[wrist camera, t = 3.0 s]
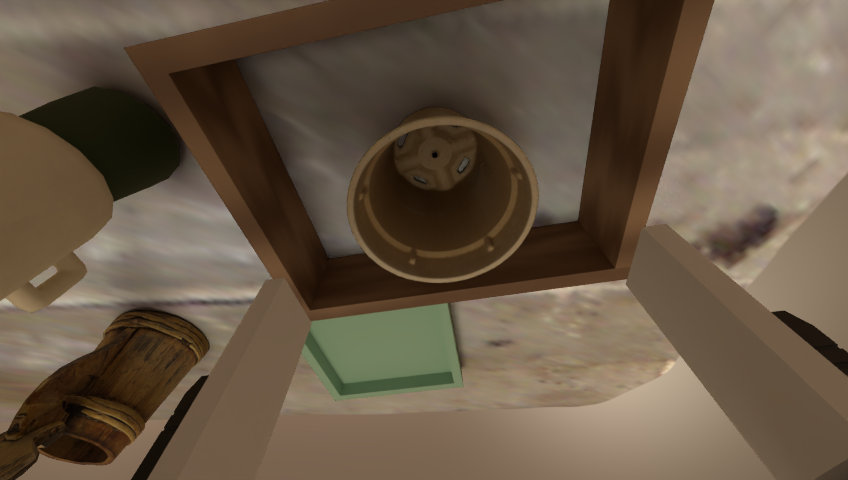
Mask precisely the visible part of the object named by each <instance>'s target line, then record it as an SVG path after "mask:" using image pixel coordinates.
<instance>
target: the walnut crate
mask: <svg viewBox="0 0 848 480" xmlns="http://www.w3.org/2000/svg"><path fill="white" fill-rule="evenodd" d="M497 1H501V0H329V1H324V2H320V3H316V4H312V5H307V6H303V7H299V8H294V9H290V10H286V11H281V12H277V13H273V14H268V15H264V16H260V17H255V18H251V19H247V20H242V21H238V22H234V23H229V24H225V25H221V26H216V27H212V28H208V29H203V30H199V31H195V32H190V33H186V34H182V35H177V36H173V37H169V38H164V39H160V40H156V41H151V42H147V43H143V44H138V45H134V46H130V47H125V48H124V49H125V51H126V52H127V54H128V55H129V57H130V58H131V60H132V62H133V63H134V65H135V66H136V68H137V69H138V71H139V72H140V74H141V75H142V77H143V79H144V80H145V82H146V83H147V85H148V86H149V88H150V89H151V91H152V92H153V94H154V96H155V97H156V99H157V100H158V102H159V103H160V105H161V106H162V108H163V109H164V111H165V113H166V114H167V116H168V117H169V119H170V120H171V122H172V123H173V125H174V127H175V128H176V130H177V131H178V133H179V134H180V136H181V137H182V139H183V140H184V142H185V144H186V145H187V147H188V148H189V150H190V151H191V153H192V154H193V156H194V157H195V159H196V161H197V162H198V164H199V165H200V167H201V168H202V170H203V171H204V173H205V174H206V176H207V178H208V179H209V181H210V182H211V184H212V185H213V187H214V188H215V190H216V192H217V193H218V195H219V196H220V198H221V199H222V201H223V202H224V204H225V205H226V207H227V209H228V210H229V212H230V213H231V215H232V216H233V218H234V219H235V221H236V222H237V224H238V226H239V227H240V229H241V230H242V232H243V233H244V235H245V236H246V238H247V239H248V241H249V243H250V244H251V246H252V247H253V249H254V250H255V252H256V253H257V255H258V256H259V258H260V260H261V261H262V263H263V264H264V266H265V267H266V269H267V270H268V272H269V274H270V275H271V277H272V278H273V279H279V278H285V280H286V281H287V283H288V284H289V286H290V288H291V289H292V291H293V293H294V294H295V296H296V298H297V299H298V301H299V303H300V304H301V306H302V308H303V309H304V311H305V313H306V314H307V316H308V318H309V319H310V321H317V320H325V319H332V318H340V317H347V316H355V315H362V314H370V313H377V312H385V311H392V310H399V309H407V308H414V307H422V306H429V305H437V304H444V303H452V302H459V301H467V300H474V299H482V298H489V297H497V296H504V295H512V294H519V293H526V292H534V291H541V290H549V289H556V288H564V287H571V286H579V285H586V284H594V283H601V282H609V281H616V280H624V279H627V278H628V275H629V271H630V268H631V264H632V261H633V257H634V254H635V251H636V247H637V244H638V240H639V237H640V233H641V230H642V227H645V226H646V223H647V220H648V216H649V213H650V210H651V207H652V203H653V200H654V197H655V194H656V190H657V187H658V184H659V180H660V177H661V174H662V171H663V167H664V164H665V161H666V157H667V154H668V151H669V148H670V144H671V141H672V138H673V134H674V131H675V128H676V125H677V121H678V118H679V115H680V111H681V108H682V105H683V102H684V98H685V95H686V92H687V88H688V85H689V82H690V79H691V75H692V72H693V69H694V65H695V62H696V59H697V56H698V52H699V49H700V46H701V43H702V39H703V36H704V33H705V29H706V26H707V23H708V20H709V16H710V13H711V10H712V6H713V3H714V0H610V4H609V11H608V18H607V25H606V32H605V39H604V46H603V53H602V59H601V66H600V73H599V80H598V87H597V94H596V101H595V108H594V115H593V121H592V128H591V135H590V142H589V149H588V156H587V163H586V170H585V177H584V184H583V190H582V197H581V204H580V211H579V218H578V221H576V222H569V223H563V224H556V225H549V226H543V227H536V228H531V229H530V231H529V233H528V235H527V236H526V238H525V239H524V241H523V242H522V244H521V245H520V246H519V248H518V249H517V250H516V251H515V252H514V253H513V254H512V255H511V256H509V257H508V258H507V259H506V260H504V261H503V262H502V263H501V264H500V265H498V266H496V267H495V268H493V269H490V270H489V271H487V272H485V273H482V274H480V275H477V276H475V277H472V278H469V279H466V280H460V281H454V282H448V283H445V282H443V283H430V282H420V281H414V280H412V279H411V280H410V279H406V278H403V277H401V276H397V275H396V274H394V273H391V272H390V271H388V270H385V269H384V268H382V267H381V266H380V265H378V264H377V263H376V262H374V261H373V260H372V259H371V258H370V257H369V256H368V255H367V254H366V253H365V254H359V255H352V256H346V257H339V258H332V259H328V257H327V255H326V253H325V250H324V248H323V246H322V244H321V242H320V240H319V238H318V236H317V234H316V231H315V229H314V227H313V225H312V223H311V221H310V219H309V217H308V215H307V212H306V210H305V208H304V206H303V204H302V202H301V200H300V198H299V196H298V193H297V191H296V189H295V187H294V185H293V183H292V181H291V179H290V176H289V174H288V172H287V170H286V168H285V166H284V164H283V162H282V160H281V157H280V155H279V153H278V151H277V149H276V147H275V145H274V143H273V141H272V138H271V136H270V134H269V132H268V130H267V128H266V126H265V124H264V122H263V119H262V117H261V115H260V113H259V111H258V109H257V107H256V105H255V102H254V100H253V98H252V96H251V94H250V92H249V90H248V88H247V86H246V83H245V81H244V79H243V77H242V75H241V73H240V71H239V69H238V67H237V64H236V62H235V60H234V59H237V58H242V57H246V56H251V55H255V54H260V53H265V52H269V51H274V50H278V49H283V48H287V47H292V46H296V45H301V44H306V43H310V42H315V41H319V40H324V39H328V38H333V37H337V36H342V35H347V34H351V33H356V32H360V31H365V30H369V29H374V28H378V27H383V26H388V25H392V24H397V23H401V22H406V21H410V20H415V19H419V18H424V17H429V16H433V15H438V14H442V13H447V12H451V11H456V10H460V9H465V8H470V7H474V6H479V5H483V4H488V3H492V2H497Z"/></svg>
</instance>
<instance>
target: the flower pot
mask: <svg viewBox="0 0 848 480" xmlns="http://www.w3.org/2000/svg"><path fill="white" fill-rule="evenodd" d="M452 125H455V126H459V127H453V126H452ZM406 133H408V134H407V137H406V139H405V141H404V144H403V147H399V146H398V139H399V137H401V136H402V135H404V134H406ZM433 152H437V154H438V156H437V157H433V156H432V153H433ZM463 158H467V159H469V163H468V165H467V166H466V167H465V168H464V170H463V171H462V172H461V173H459V172H458V171H457V170H458V168H459V166H460V165H461V163H462V161H463ZM414 176H417V177H420V178H421V177H423V179H424V180H426V181H427V184H425V183H422V182H419V181H417V180H416V179H415V178H414ZM538 197H539V191H538V183H537V179H536V175H535V172H534V169H533V167H532V165H531V163H530V161H529V160H528V158H527V156H526V155H525V153H524V152H523V151H522V149H521V148H520V147H519V146H518V145H517V144H516V143H515V142H514V141H513V140H511V139H510V138H509V137H508V136H506V135H505V134H504V133H502V132H501V131H499V130H498V129H496V128H494V127H492V126H490V125H488V124H485V123H482V122H479V121H476V120H473V119H469V118H464V117H463V116H462V115H460V114H459V113H457V112H455V111H453V110H450V109H447V108H441V107H431V108H426V109H422V110H419V111H417V112H415V113H413V114H411V115H410V116H408V117H407V118H406V119H405V120H404V121H403V122H402V123H401V124H400V125H399V127H398V128H396V129H394V130H392V131H391V132H389V133H388V134H386V135H385V136H383V137H382V138H381V139H379V140H378V141H377V142H376V143H375V144H374V145H373V146H372V147H371V148H370V149H369V150H368V151H367V152H366V153H365V155H364V156H363V157H362V159H361V160H360V162H359V163H358V165H357V167H356V169H355V171H354V173H353V176H352V178H351V182H350V185H349V189H348V196H347V214H348V219H349V224H350V227H351V230H352V233H353V235H354V236H355V238H356V240H357V242H358V243H359V245H360V246H361V248H362V249H363V250H364V252H365V253H366V254H367V255H368V256H369V257H370V258H371V259H372V260H373V261H374V262H376V263H377V264H378V265H380V266H381V267H382V268H384V269H385V270H388V271H390V272H391V273H394V274H396V275H397V276H401V277H403V278H406V279H410V280H411V279H412V280H414V281H420V282H430V283H443V282H445V283H448V282H454V281H460V280H466V279H469V278H472V277H475V276H477V275H480V274H482V273H485V272H487V271H489V270H490V269H493V268H495V267H496V266H498V265H500V264H501V263H502V262H503V261H504V260H506V259H507V258H508V257H509V256H511V255H512V254H513V253H514V252H515V251H516V250H517V249H518V248H519V246H520V245H521V244H522V242H523V241H524V239H525V238H526V236H527V235H528V233H529V231H530V229H531V227H532V225H533V223H534V219H535V215H536V211H537V207H538V200H539V199H538Z"/></svg>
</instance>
